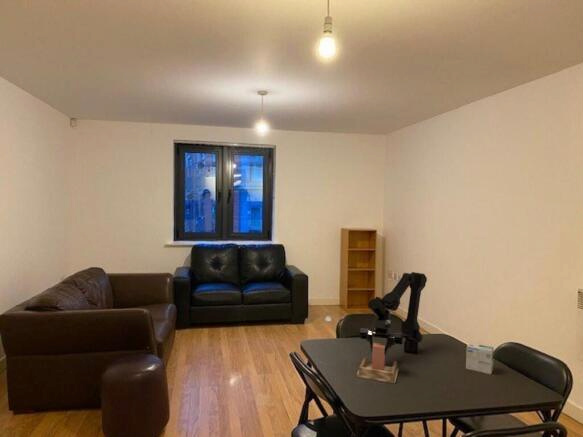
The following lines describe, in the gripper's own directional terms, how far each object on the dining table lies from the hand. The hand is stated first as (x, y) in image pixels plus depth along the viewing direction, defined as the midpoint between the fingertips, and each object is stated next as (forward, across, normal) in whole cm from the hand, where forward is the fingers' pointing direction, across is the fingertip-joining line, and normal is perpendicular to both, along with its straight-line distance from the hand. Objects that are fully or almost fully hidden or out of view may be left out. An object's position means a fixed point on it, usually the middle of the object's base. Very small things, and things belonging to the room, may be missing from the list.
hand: (378, 353), depth 172 cm
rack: (+5, 0, +7) cm, 9 cm away
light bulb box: (-11, +42, +25) cm, 50 cm away
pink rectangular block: (+4, 0, +6) cm, 7 cm away
